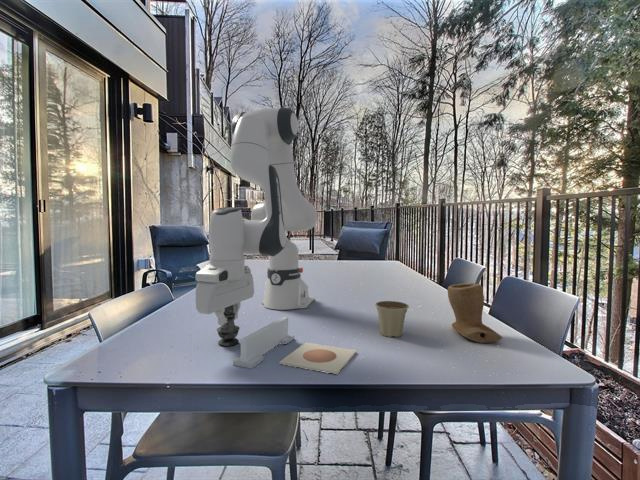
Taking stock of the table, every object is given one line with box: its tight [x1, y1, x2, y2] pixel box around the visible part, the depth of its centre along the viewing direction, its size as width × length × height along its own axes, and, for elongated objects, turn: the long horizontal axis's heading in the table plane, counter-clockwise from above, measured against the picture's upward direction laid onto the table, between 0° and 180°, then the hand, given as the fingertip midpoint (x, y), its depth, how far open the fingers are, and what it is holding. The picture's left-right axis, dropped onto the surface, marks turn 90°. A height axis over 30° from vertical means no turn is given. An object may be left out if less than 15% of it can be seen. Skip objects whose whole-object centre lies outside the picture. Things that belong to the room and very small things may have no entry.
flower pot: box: [375, 300, 410, 338], centre depth 105 cm, size 9×9×9 cm
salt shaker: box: [216, 305, 241, 347], centre depth 96 cm, size 6×6×12 cm
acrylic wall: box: [232, 316, 295, 370], centre depth 91 cm, size 21×5×6 cm, turn 157°
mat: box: [279, 341, 357, 375], centre depth 87 cm, size 14×14×1 cm
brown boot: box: [447, 282, 503, 344], centre depth 104 cm, size 15×12×15 cm
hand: (228, 321), depth 96 cm, fingers closed on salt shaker, 3 cm apart
